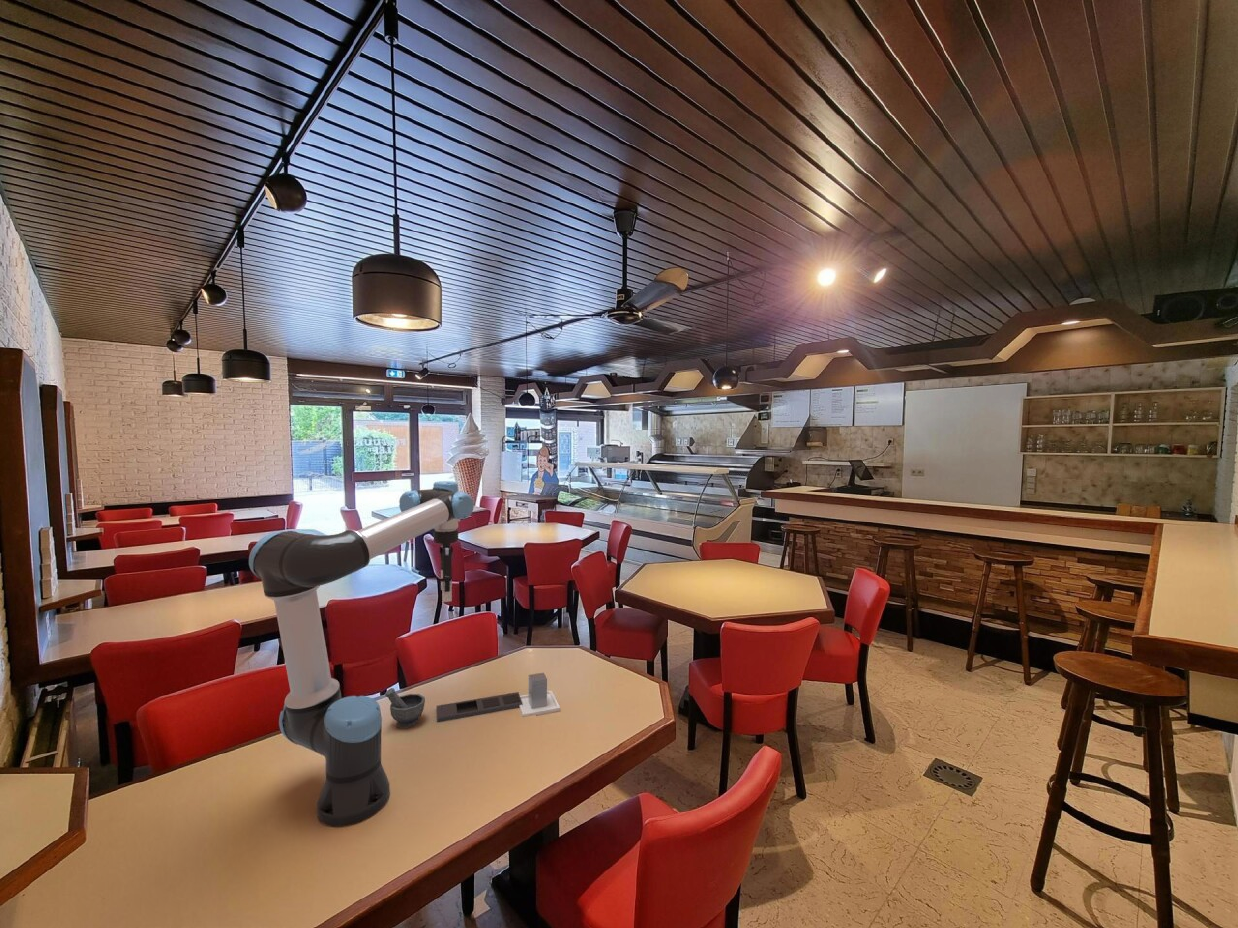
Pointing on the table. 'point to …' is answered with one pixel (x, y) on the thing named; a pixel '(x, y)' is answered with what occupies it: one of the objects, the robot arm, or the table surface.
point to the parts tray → (550, 708)
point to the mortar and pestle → (405, 708)
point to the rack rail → (478, 706)
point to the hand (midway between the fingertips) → (446, 595)
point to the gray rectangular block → (537, 690)
